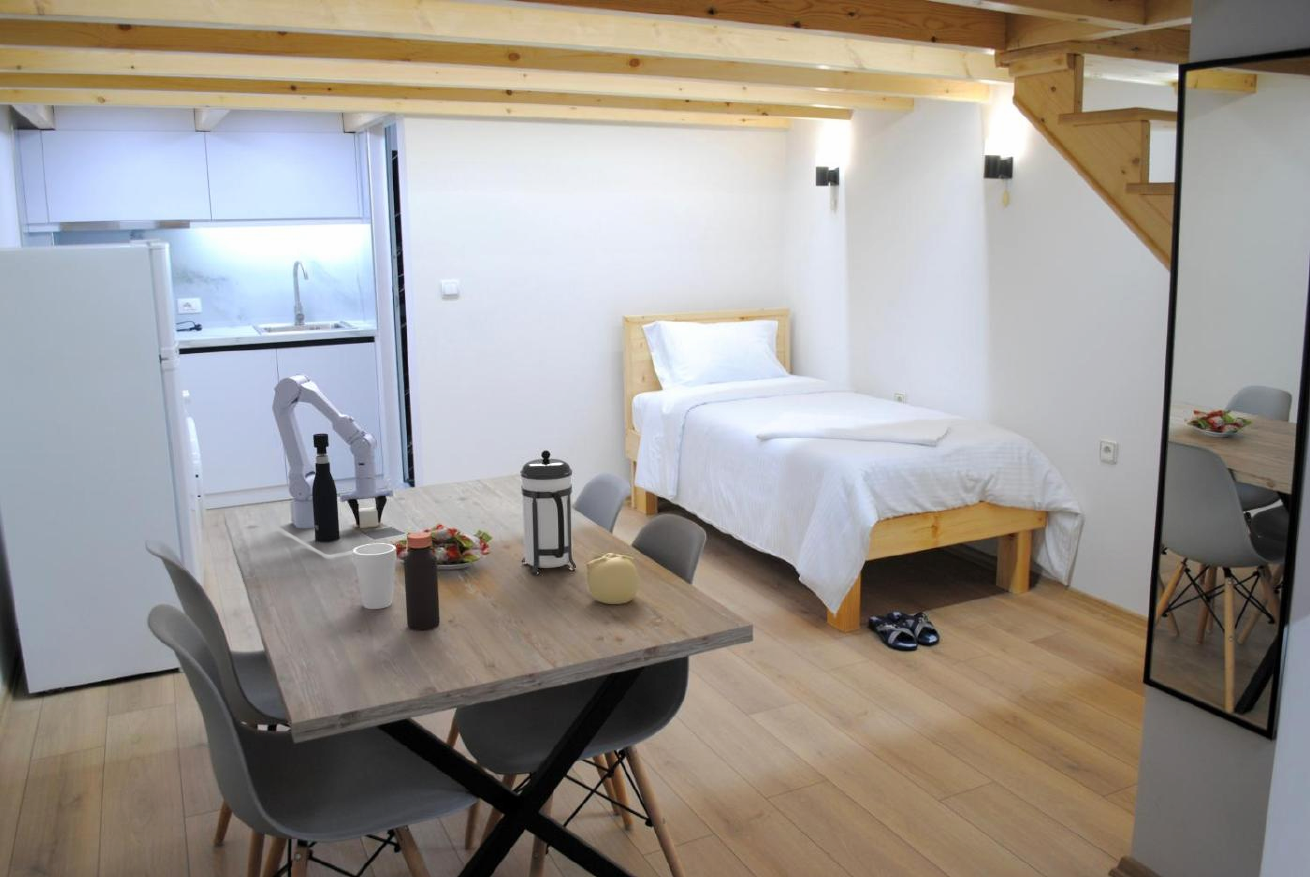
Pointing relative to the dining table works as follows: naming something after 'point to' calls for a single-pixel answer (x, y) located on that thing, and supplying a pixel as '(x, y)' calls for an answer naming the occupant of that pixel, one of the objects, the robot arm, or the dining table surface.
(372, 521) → the white block
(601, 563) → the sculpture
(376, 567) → the foam cup
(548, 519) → the coffee press
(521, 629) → the dining table surface
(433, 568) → the dark brown water bottle
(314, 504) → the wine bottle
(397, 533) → the mat
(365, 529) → the pin stand
